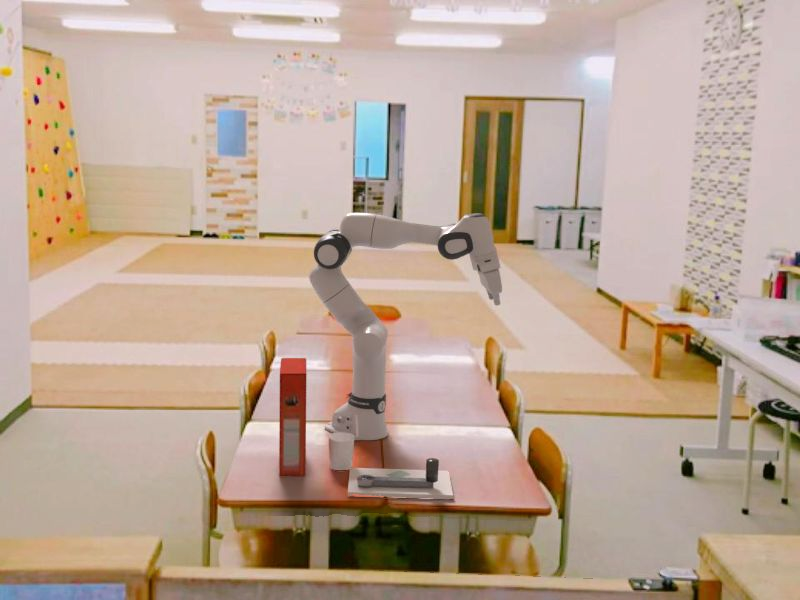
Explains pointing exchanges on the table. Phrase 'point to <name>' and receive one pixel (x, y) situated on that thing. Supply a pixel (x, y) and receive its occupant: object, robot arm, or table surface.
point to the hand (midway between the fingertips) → (494, 301)
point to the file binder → (292, 417)
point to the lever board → (438, 491)
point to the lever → (430, 478)
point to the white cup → (341, 450)
